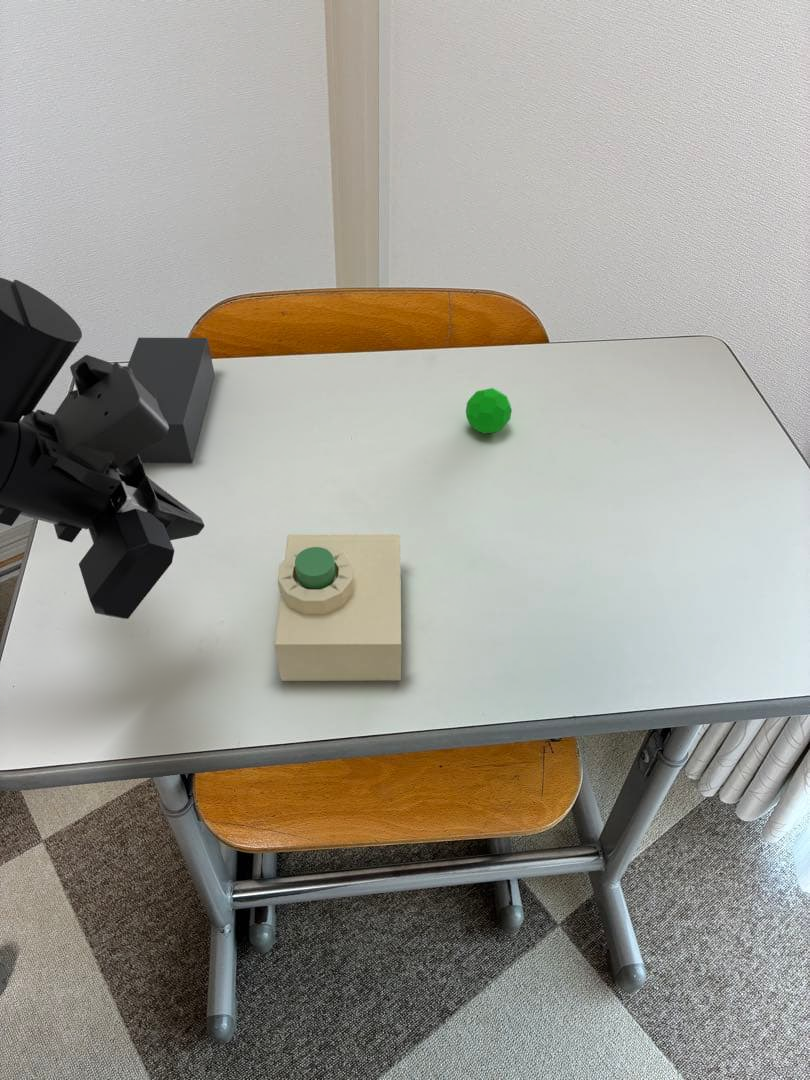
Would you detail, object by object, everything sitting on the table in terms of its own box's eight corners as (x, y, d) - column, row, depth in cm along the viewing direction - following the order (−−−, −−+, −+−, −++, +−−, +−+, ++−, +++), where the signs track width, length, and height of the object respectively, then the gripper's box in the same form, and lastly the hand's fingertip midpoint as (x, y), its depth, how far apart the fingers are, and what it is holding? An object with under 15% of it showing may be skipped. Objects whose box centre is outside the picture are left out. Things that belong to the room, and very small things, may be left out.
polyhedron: (475, 446, 87) (479, 411, 84) (457, 419, 91) (460, 385, 87) (516, 436, 89) (521, 401, 85) (497, 410, 92) (501, 376, 88)
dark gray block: (101, 473, 84) (82, 420, 79) (137, 374, 96) (123, 323, 91) (189, 473, 84) (176, 421, 79) (214, 375, 96) (205, 323, 91)
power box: (280, 681, 66) (271, 630, 61) (292, 572, 75) (285, 519, 70) (400, 680, 67) (401, 630, 61) (399, 572, 75) (400, 519, 70)
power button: (295, 590, 65) (293, 576, 63) (298, 560, 67) (296, 546, 66) (334, 589, 65) (333, 575, 63) (336, 560, 67) (335, 546, 66)
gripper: (98, 450, 41) (310, 530, 53) (35, 286, 53) (222, 381, 64) (-7, 598, 45) (215, 643, 56) (-45, 413, 56) (147, 482, 68)
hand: (200, 527), depth 61 cm, fingers closed
